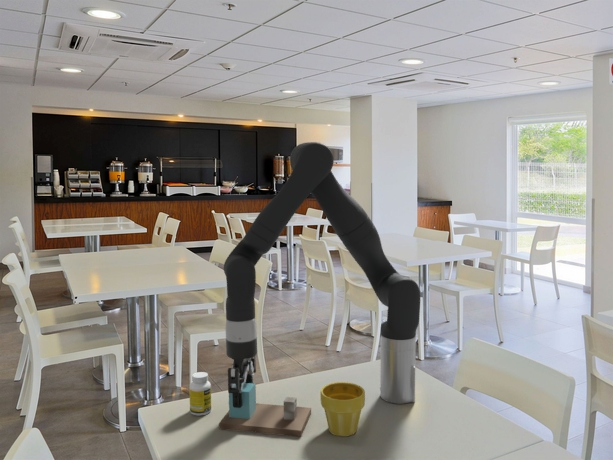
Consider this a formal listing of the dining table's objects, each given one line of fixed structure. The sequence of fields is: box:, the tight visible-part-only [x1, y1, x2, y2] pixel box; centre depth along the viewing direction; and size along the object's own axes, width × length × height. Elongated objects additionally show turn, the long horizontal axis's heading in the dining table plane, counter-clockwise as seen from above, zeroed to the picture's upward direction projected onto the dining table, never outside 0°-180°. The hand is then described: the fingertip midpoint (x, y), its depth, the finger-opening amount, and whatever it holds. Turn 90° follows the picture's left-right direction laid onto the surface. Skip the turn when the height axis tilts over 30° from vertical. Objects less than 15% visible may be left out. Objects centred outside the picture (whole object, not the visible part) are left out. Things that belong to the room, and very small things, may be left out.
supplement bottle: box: [188, 371, 212, 417], centre depth 137 cm, size 5×5×10 cm
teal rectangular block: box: [228, 382, 257, 419], centre depth 133 cm, size 5×5×7 cm
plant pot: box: [320, 381, 366, 437], centre depth 127 cm, size 10×10×10 cm
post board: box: [218, 396, 312, 438], centre depth 132 cm, size 20×12×6 cm, turn 78°
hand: (243, 399), depth 133 cm, fingers open, 8 cm apart
